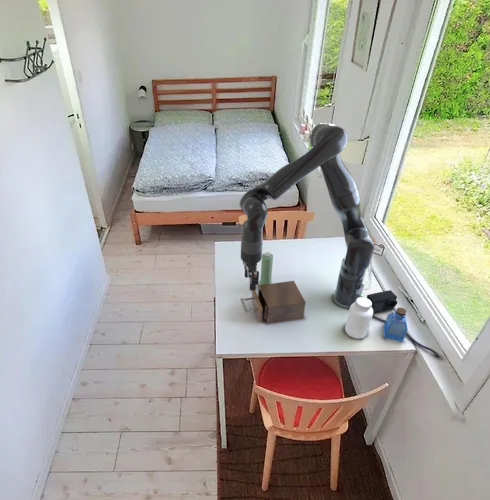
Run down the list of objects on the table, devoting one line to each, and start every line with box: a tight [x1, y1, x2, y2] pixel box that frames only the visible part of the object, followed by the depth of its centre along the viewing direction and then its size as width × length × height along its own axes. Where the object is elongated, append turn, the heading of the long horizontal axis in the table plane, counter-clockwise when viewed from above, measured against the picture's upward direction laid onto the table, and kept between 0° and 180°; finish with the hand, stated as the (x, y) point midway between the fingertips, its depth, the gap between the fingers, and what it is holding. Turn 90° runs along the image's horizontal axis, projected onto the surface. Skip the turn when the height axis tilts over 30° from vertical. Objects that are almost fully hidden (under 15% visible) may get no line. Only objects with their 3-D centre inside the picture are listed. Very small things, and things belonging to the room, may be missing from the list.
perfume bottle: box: [383, 307, 408, 343], centre depth 138 cm, size 6×6×12 cm
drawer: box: [240, 288, 268, 323], centre depth 151 cm, size 19×12×7 cm, turn 99°
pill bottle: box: [344, 296, 374, 339], centre depth 139 cm, size 8×8×15 cm
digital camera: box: [366, 289, 398, 315], centre depth 150 cm, size 10×5×7 cm, turn 104°
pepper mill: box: [258, 251, 274, 285], centre depth 160 cm, size 5×5×18 cm
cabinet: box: [258, 280, 306, 324], centre depth 152 cm, size 15×13×9 cm
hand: (249, 283), depth 144 cm, fingers open, 7 cm apart
